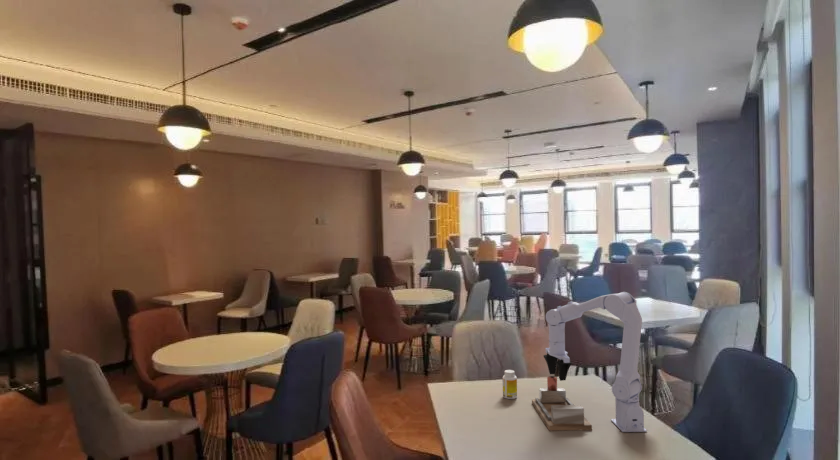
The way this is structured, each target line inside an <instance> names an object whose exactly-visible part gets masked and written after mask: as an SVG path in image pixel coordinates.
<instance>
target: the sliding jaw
mask: <svg viewBox="0 0 840 460" xmlns="http://www.w3.org/2000/svg"><path fill="white" fill-rule="evenodd" d="M546 378H547V382H546V383H547V384H546V385H547V386H546V387H544V388H543V387H541V388H539V389H538V391H539V394H538V395H539V397H538V399H539V400H540V401H541V403H565V402H566V398H567V395H566V393H567V392H566V389H565V388H564V387H558V378H557V376H554V375H549V376H547V377H546Z"/></svg>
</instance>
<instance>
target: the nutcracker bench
mask: <svg viewBox="0 0 840 460" xmlns="http://www.w3.org/2000/svg"><path fill="white" fill-rule="evenodd" d="M531 404H532V406H533V407H534V409H535V411H536V412H537V414H538V415H539V417H540V419H541V420H542V422H543V423H544V425H545V426H546V428H547V429H548V431H593V425H592V424H591V422H590V421H589V420H588V419H587V417H585V408H584V407H583V406H582V404H574V403H573V402H572V400H571V399H570V398H568V397H566V402H565V403H541V401H540V400H539V397H535V399H531Z"/></svg>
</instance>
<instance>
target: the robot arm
mask: <svg viewBox="0 0 840 460" xmlns="http://www.w3.org/2000/svg"><path fill="white" fill-rule="evenodd" d="M598 308H600V309H602V310H606V311H608V313H610V314H611V315H613V316H614V317H616V318H617V319H619V320H620V322H622V323H623V333H622V341H621V350H620V351H621V353H620V362H619V370H618V372H617V374H616V375H615V380H614V382H613V384H612V386H611V393H612V394H613V395H612V396H614V397H615V399H614V400H615V418H611V419H610V420H611V422H612V424H614V425H615V426H616V427H617V428H618V429H619V430H620V431H621V432H622V433H637V432H638V433H639V432H640V433H641V432H642V433H643V432H644V433H645V432H647V431H648V430H647V429H646V428H645V421H644V420H645V418H644V416H645V414H644V409H642V407H641V406H640V397H639V394H640V393H641V391H642V388H643V385H642V382H641V374H640V373H639V372H638V364H639V354H640V345H641V334H642V325H643V319H642V316H641V315H642V314H641V313H640V310H639V308H638V305H637V300H636V298H635V297H634V296H633V295H632V294H631V293H629V292H626V291H621V292H619V293H609V294H605V295H600V296H597V297H595V298H592V299H589V300H587V301H584V302H581V303H579V302H576V301H568V302H567V304H565V305H559V306H556V308H554V309H549V310H548V311H547V312H546V313H545V321H546V322H547V323H548V347H545V353H546V354H543V358H544V360H545V362H546V365H547V368H548V369H547V370H548V372H549V375H555V374H556V372H557V371H558V379H559V381H561V382H562V381H566V380H567V375H568V373H569V369H570V367H571V366H572V364H573V363H572V361H571V359H570V357H569V355H568V354H569V351H566V334H565V333H566V328H565V327H566V323H567V322H570V321H572V320H577V319H578V318H581V317H582V316H583V314H584V313H585V312H588V311H592V310H596V309H598ZM558 359H559V360H558Z"/></svg>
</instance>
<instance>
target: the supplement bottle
mask: <svg viewBox="0 0 840 460" xmlns="http://www.w3.org/2000/svg"><path fill="white" fill-rule="evenodd" d="M502 396H503V398H505V399H507V400H514V399H517V398H518V378H517V375H516V373H515V370H513V369H506V370H504V375H503V376H502Z"/></svg>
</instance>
